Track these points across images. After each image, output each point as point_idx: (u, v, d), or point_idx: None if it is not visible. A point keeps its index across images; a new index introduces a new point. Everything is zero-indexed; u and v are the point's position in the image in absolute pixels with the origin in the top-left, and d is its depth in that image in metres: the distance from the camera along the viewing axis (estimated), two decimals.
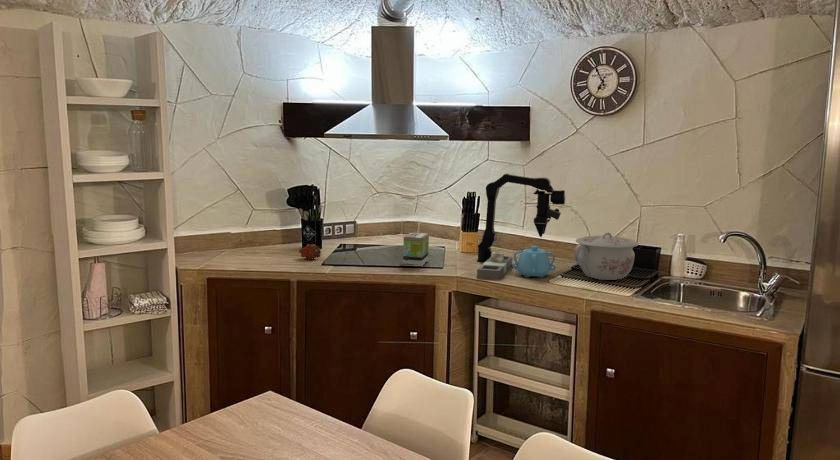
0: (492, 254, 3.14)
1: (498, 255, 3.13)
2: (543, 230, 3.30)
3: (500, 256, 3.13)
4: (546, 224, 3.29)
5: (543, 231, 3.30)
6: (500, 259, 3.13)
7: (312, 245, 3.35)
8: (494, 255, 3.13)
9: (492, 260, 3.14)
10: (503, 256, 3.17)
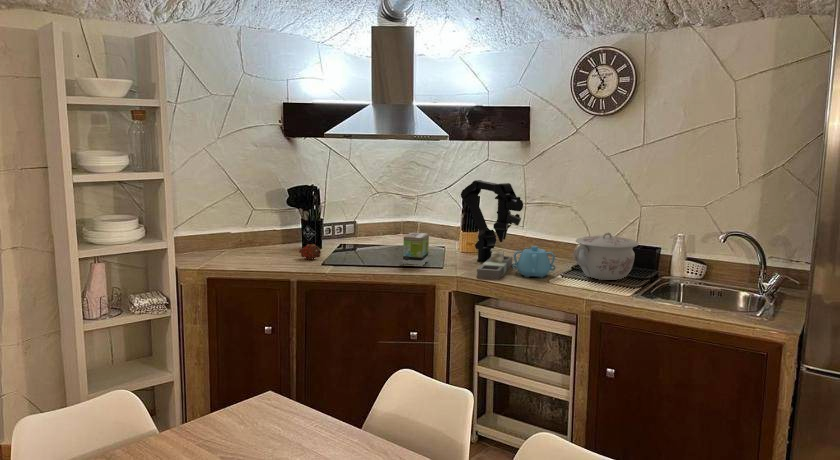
0: (492, 254, 3.14)
1: (498, 255, 3.13)
2: (504, 236, 3.29)
3: (500, 256, 3.13)
4: None
5: (504, 237, 3.29)
6: (500, 259, 3.13)
7: (312, 245, 3.35)
8: (494, 255, 3.13)
9: (492, 260, 3.14)
10: (503, 256, 3.17)
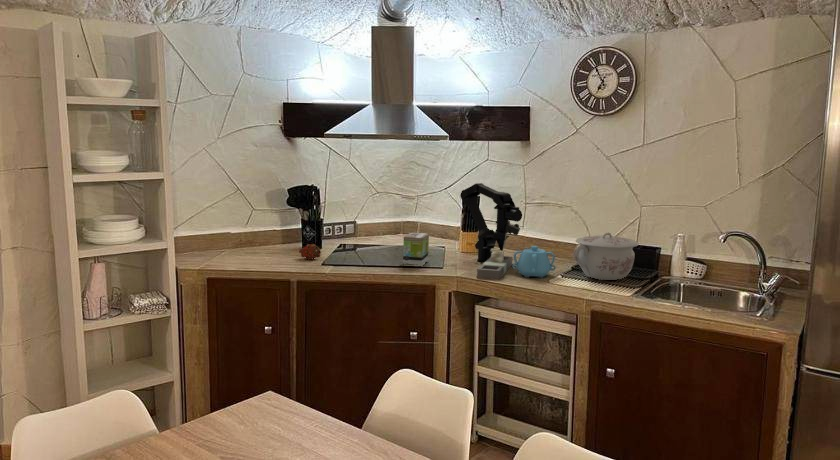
0: (492, 254, 3.14)
1: (498, 255, 3.13)
2: None
3: (500, 256, 3.13)
4: (504, 240, 3.25)
5: None
6: (500, 259, 3.13)
7: (312, 245, 3.35)
8: (494, 255, 3.13)
9: (492, 260, 3.14)
10: (503, 256, 3.17)
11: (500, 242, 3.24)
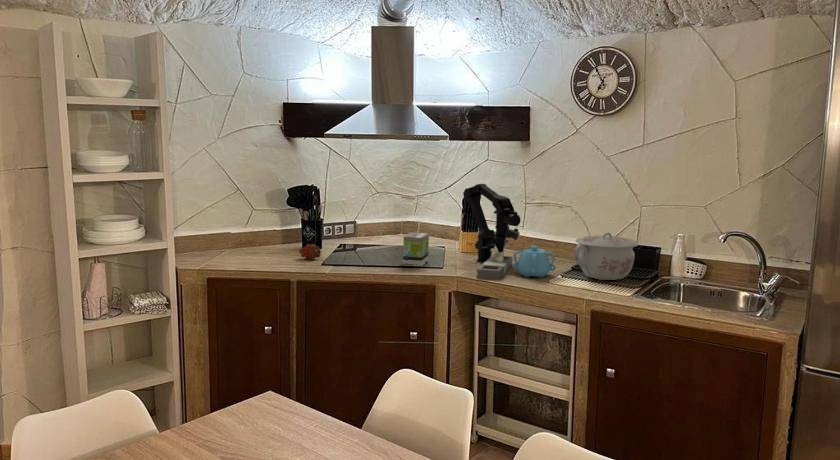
0: (492, 254, 3.14)
1: (498, 255, 3.13)
2: (501, 251, 3.24)
3: (500, 256, 3.13)
4: (504, 245, 3.24)
5: None
6: (500, 259, 3.13)
7: (312, 245, 3.35)
8: (494, 255, 3.13)
9: (492, 260, 3.14)
10: (503, 256, 3.17)
11: (500, 247, 3.23)
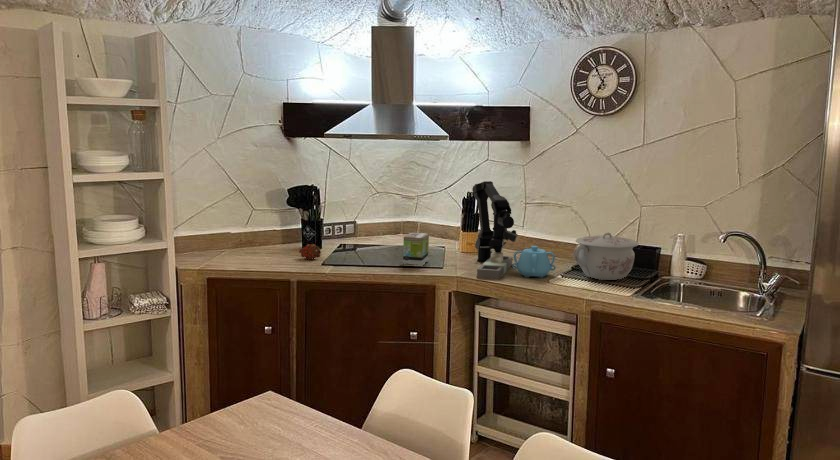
0: (491, 254, 3.13)
1: (498, 255, 3.12)
2: None
3: (500, 256, 3.12)
4: (502, 247, 3.18)
5: None
6: (500, 259, 3.12)
7: (312, 245, 3.35)
8: (493, 255, 3.12)
9: (491, 260, 3.13)
10: (502, 256, 3.16)
11: (497, 249, 3.17)
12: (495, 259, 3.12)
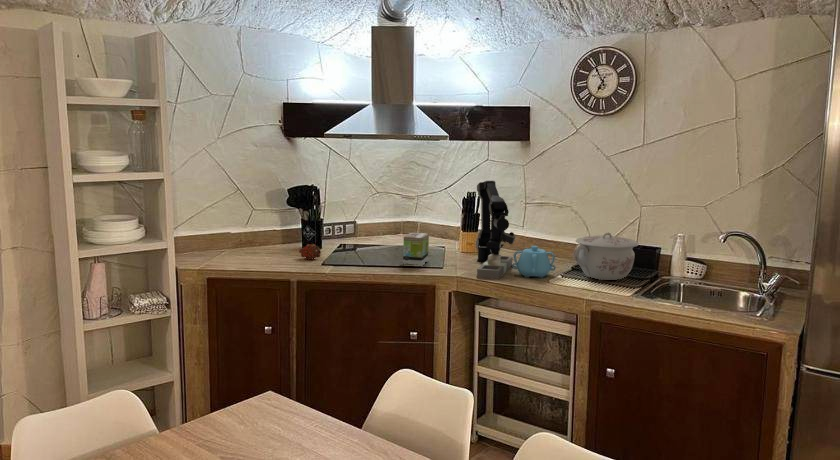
0: (489, 257, 3.07)
1: (495, 258, 3.06)
2: None
3: (497, 259, 3.06)
4: (499, 250, 3.12)
5: None
6: (497, 262, 3.06)
7: (312, 245, 3.35)
8: (491, 258, 3.07)
9: (489, 263, 3.08)
10: (500, 259, 3.10)
11: (494, 251, 3.11)
12: (492, 261, 3.07)
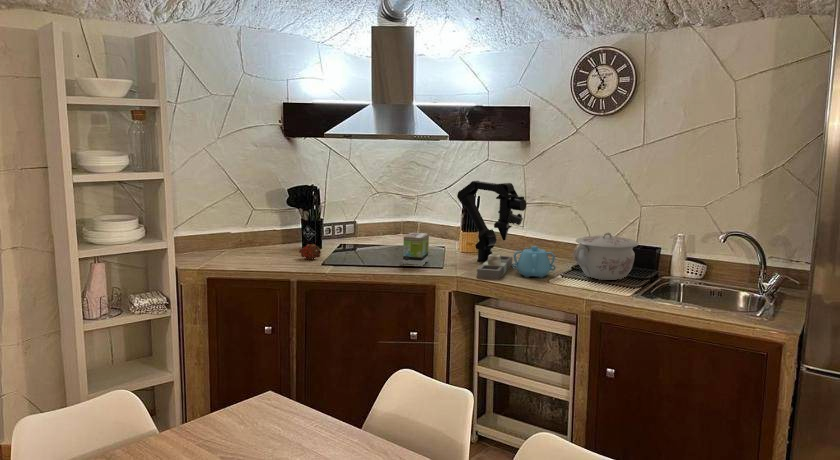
0: (489, 257, 3.07)
1: (495, 258, 3.06)
2: None
3: (497, 259, 3.06)
4: (507, 230, 3.26)
5: None
6: (497, 262, 3.06)
7: (312, 245, 3.35)
8: (491, 258, 3.07)
9: (489, 263, 3.08)
10: (500, 259, 3.10)
11: (502, 232, 3.25)
12: (492, 261, 3.07)
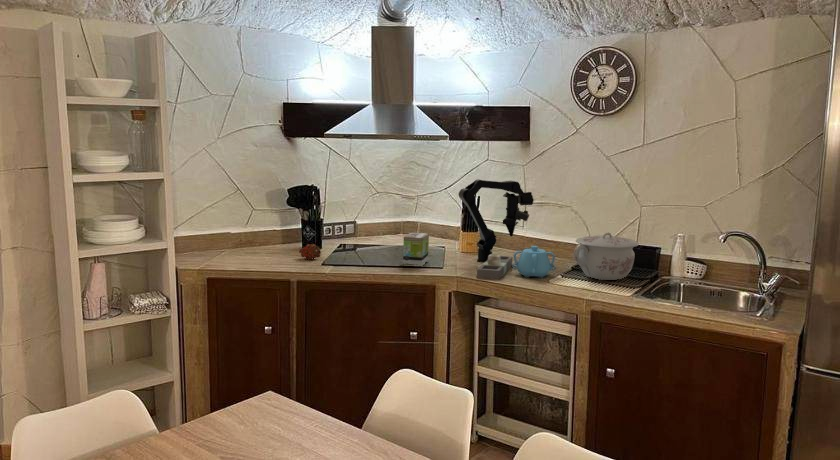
0: (489, 257, 3.07)
1: (495, 258, 3.06)
2: None
3: (497, 259, 3.06)
4: (514, 226, 3.38)
5: None
6: (497, 262, 3.06)
7: (312, 245, 3.35)
8: (491, 258, 3.07)
9: (489, 263, 3.08)
10: (500, 259, 3.10)
11: (510, 228, 3.37)
12: (492, 261, 3.07)
